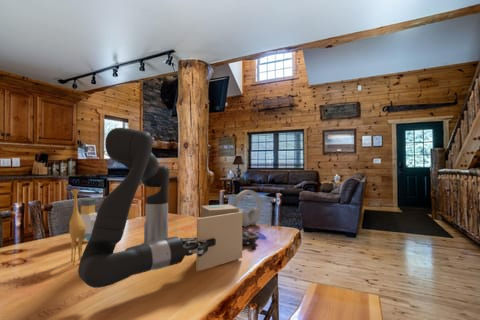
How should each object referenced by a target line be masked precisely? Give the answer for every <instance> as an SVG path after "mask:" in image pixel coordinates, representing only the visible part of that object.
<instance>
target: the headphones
mask: <svg viewBox="0 0 480 320" xmlns="http://www.w3.org/2000/svg"><path fill="white" fill-rule="evenodd" d="M248 194H249V195H252V197H254V199H255V200H256V202H257V208H255V207H251V208H250V209H248V210H247V212H246V211H245V209H242V208H239V212H242V226H243V227H242V228H246V227H247V226H248V225H249V226H256V225H257V223H259V221H260V220H261V219H260V218H261V215H260V214H261V211H262V201H261V197H260V195H259V193H258V192H256V191H255V190H251V189H245V190H244V189H243V190H242V191H240V192H239V193H238V194H237V195H236V196H235V198H234V201H233V204H232V206H234V207H237V205H238V203H239V202H240V201H241V199H242V198H243V197H244V196H245V195H248ZM237 208H238V207H237Z"/></svg>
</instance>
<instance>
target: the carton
mask: <svg viewBox="0 0 480 320" xmlns="http://www.w3.org/2000/svg"><path fill="white" fill-rule="evenodd" d="M239 209H240V208H239V207H234V206H233V205H231V204H228V203H225V204H212V205H200V218H203V217H210V216H217V215H224V214H230V213H237V212H239ZM233 261H235V260H233ZM233 261H232V262H233ZM236 261H239V259H237V260H236Z"/></svg>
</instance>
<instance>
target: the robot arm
mask: <svg viewBox="0 0 480 320" xmlns="http://www.w3.org/2000/svg"><path fill="white" fill-rule="evenodd" d="M104 141H105V142H104V146H105V151H106V152H105V153H107V155H108V157H109V158H110V159H111V160H113V161H115V162H118V163H120V164H121V165H123V166H124V167H125V168H127V169H128V170H129V171H128V174H127V175H126V177H124V179H123V180H122V181H121V182H120V183H119V184H118V185H117V186H116V187H115V188H114V189H113V190H112V191H111V192H109V193H108V195H107V196H106V197H105V198H104V199H103V201H102V202H101V204H100V206H99V207H98V211H97V212H96V213H97V216H96V220H95V223H94V227H93V230H92V234H91V237H90V239H89V241H88V242H86V243H87V244H86V245H85V248H84V251H82V257H81V260H79V264H78V270H77V272H78V273H77V274H78V277H79V279H80V280H81V281H82V282H84V283H85V284H86V285H87V286H88V287H90V288H94V289H95V288H96V289H97V288H98V289H99V288H104V287H109V286H111V285H114V284H117V283H119V282H121V281H124V280H126V279H127V278H130V277H131V276H134V275H139V274H140V275H141V274H143V273H147V272H150V271H157V270H160V269H164V268H168V267H171V266H174V265H177V264H178V265H179V264H181V263H182V262H183V261H184V259H185V256H186V257H189V256H193V254H196V255H197V254H198V257H201V256H202V255H204V254H205V253H206V252H207V251H208V247H211V246H215V245H216V239H215V238H212V239H208V240H203V241H199V240H197V236H196V237H195V236H194V237H178V236H173V237H168V235H169V185H170V183H169V182H170V168H169V167H168V166H167V165H159V161H158V159H157V157H156V156H155V154H153V152H152V149H153V137H152V135H151V133H150V132H148V131H144V130H139V129H138V130H137V129H132V128H126V127H115V128H112V129H111V130H110V131H109V132H108V133H107V135H106V137H105V140H104ZM141 182H142V184H143V186H145V187H148V188H160V189H159V190H158V191H157V192H155V193H153V194H150V195H147V196H146V197H145V220H144V221H145V222H144V224H143V228H144V230H143V243H142V244H137V245H134V246H133V245H132V246H130V247H128V248H126V249H124V250H122V251H118V252H114V251H115V248H116V245H117V244H118V243H120V242H121V240H122V238H123V235H124V232H125V229H126V224H127V220H128V218H129V217H128V216H129V213H130V209H131V207H132V203H133V201H134V198H135V195H136V193H137V190H138V189H139V186H140V183H141ZM202 243H203V244H202Z"/></svg>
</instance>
